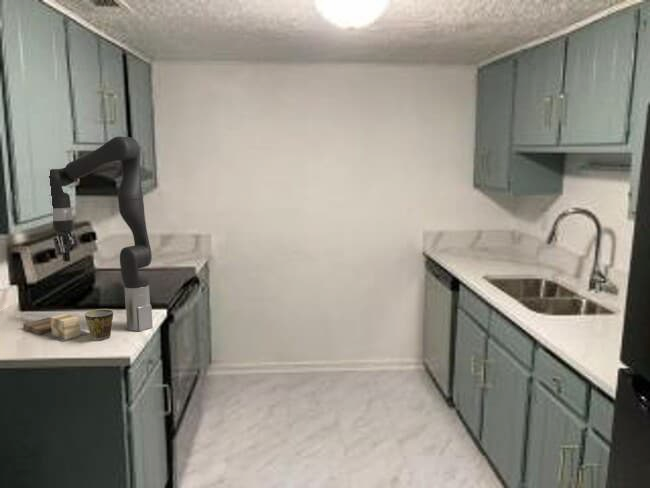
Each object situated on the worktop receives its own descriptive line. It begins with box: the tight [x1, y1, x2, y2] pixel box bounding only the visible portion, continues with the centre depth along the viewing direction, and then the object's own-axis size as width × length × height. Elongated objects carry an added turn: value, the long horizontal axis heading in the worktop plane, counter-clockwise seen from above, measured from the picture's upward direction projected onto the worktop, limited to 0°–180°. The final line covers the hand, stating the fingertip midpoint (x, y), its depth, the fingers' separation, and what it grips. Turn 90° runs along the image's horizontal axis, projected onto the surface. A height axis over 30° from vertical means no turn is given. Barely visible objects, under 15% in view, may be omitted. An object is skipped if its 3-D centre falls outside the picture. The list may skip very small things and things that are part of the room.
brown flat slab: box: [22, 316, 52, 336], centre depth 221 cm, size 14×12×2 cm
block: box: [50, 312, 81, 339], centre depth 211 cm, size 10×6×7 cm, turn 53°
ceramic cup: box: [84, 308, 114, 342], centre depth 207 cm, size 13×10×10 cm
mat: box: [43, 329, 90, 342], centre depth 214 cm, size 14×11×1 cm
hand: (66, 261), depth 224 cm, fingers closed
